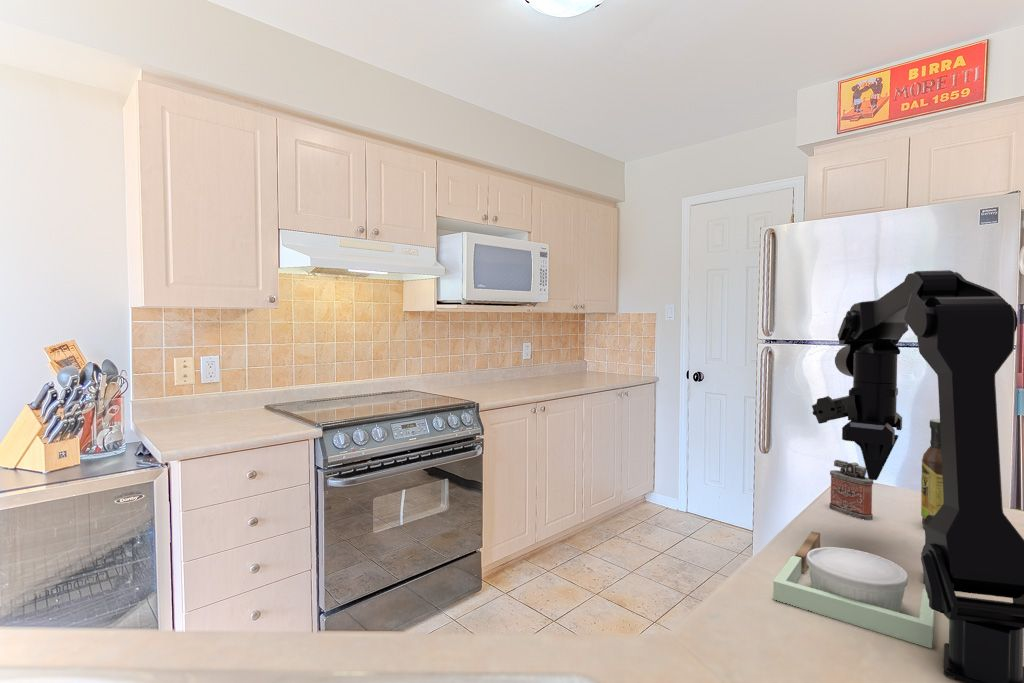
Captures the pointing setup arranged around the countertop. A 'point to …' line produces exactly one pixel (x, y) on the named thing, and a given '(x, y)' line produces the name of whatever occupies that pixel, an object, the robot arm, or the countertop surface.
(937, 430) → the sauce bottle
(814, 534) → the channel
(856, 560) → the ramekin
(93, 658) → the countertop surface
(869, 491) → the lighter
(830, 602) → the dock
